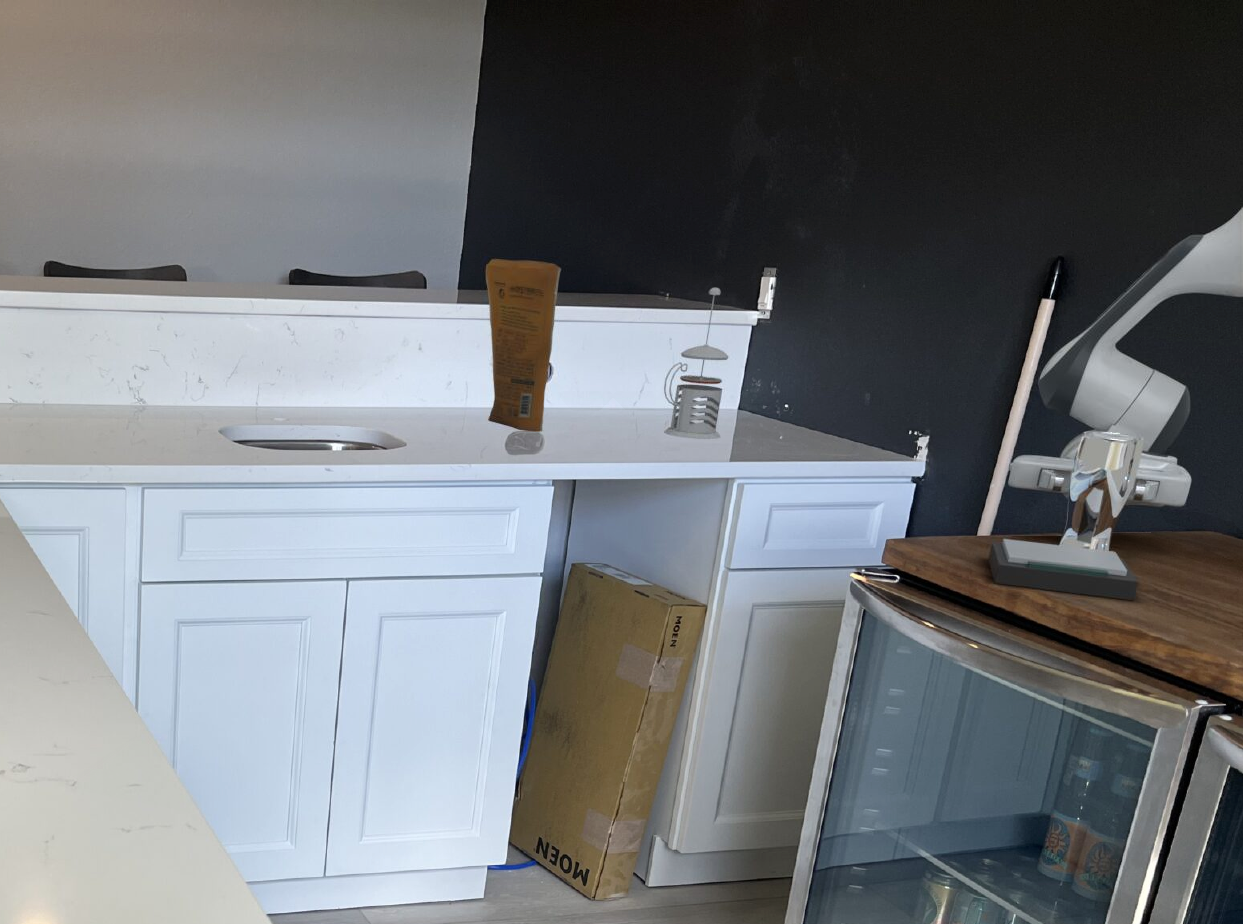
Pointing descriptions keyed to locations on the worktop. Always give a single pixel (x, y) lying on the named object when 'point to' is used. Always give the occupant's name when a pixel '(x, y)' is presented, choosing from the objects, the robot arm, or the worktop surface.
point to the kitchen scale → (1062, 569)
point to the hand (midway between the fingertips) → (1098, 489)
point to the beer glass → (1100, 487)
